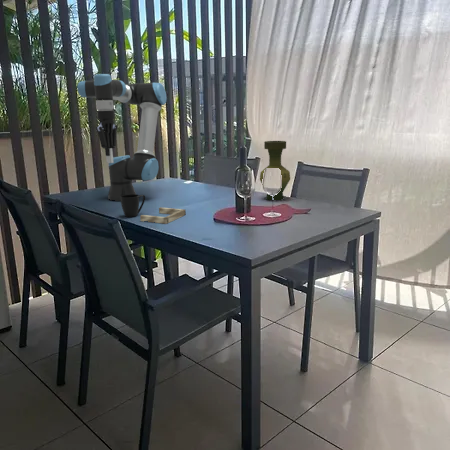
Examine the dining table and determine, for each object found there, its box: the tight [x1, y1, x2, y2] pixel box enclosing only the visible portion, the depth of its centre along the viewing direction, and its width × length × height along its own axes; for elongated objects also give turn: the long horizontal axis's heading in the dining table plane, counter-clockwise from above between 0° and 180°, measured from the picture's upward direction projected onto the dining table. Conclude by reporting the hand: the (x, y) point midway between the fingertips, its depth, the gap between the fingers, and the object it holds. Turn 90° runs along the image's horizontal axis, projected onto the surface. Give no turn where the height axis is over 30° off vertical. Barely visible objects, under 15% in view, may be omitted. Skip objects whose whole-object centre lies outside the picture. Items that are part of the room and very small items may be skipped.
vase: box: [259, 140, 291, 201], centre depth 234 cm, size 16×16×30 cm
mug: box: [120, 193, 146, 218], centre depth 208 cm, size 8×12×10 cm
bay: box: [139, 206, 187, 225], centre depth 203 cm, size 14×17×2 cm
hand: (110, 162), depth 208 cm, fingers closed
